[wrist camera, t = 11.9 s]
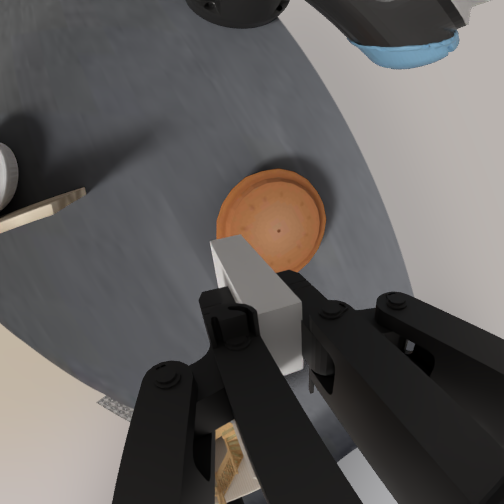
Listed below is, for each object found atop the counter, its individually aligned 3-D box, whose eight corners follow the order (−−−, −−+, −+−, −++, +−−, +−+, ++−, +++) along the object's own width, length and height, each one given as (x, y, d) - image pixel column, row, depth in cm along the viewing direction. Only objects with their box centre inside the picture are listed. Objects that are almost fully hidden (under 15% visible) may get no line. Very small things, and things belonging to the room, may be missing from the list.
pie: (221, 158, 35) (230, 158, 31) (322, 178, 41) (341, 183, 36) (204, 267, 40) (209, 283, 36) (300, 273, 45) (315, 287, 41)
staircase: (238, 388, 51) (286, 498, 28) (196, 415, 51) (226, 522, 28) (213, 370, 47) (256, 495, 25) (169, 400, 47) (191, 518, 24)
